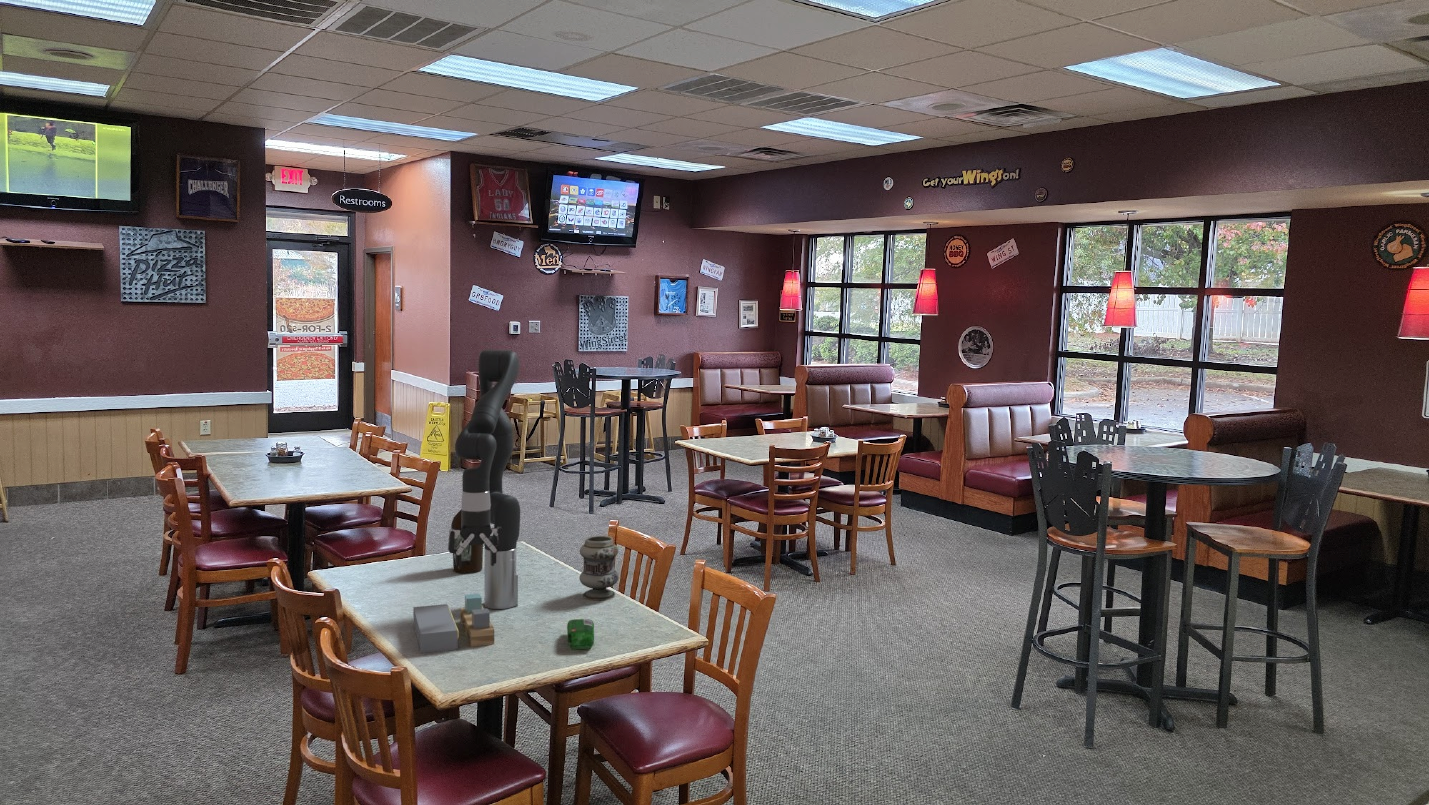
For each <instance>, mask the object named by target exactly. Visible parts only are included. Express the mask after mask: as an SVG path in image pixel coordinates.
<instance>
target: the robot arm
mask: <svg viewBox="0 0 1429 805" xmlns="http://www.w3.org/2000/svg"><path fill="white" fill-rule="evenodd" d="M519 359H520V358H519V356H518V354H517V352H515V351H513V350H506V349H504V350H503V349H502V350H501V349H485V350H482V351H481V352H479V356H478V364H477V365H478V366H477V367H478V383H479V394H480V398H479V399H478V400H477V402H476V403H475V405H474V407H473V410H472V413H471V415H470V416H471V417H470V420H469V421H468V422H467V423H466V425H465V426H464V428H463V429H461V431H460V433H459V434H458V436H457V438H456V440H455V444H454V451H455V453H456V456H458V458H460V459H462V460H468V461H469V460H474V461H475V460H476V461H479V460H480V464H479V465H478V466H475V467H469V468H466V469H464V470H463V471H462V475H461V476H462V478H461V479H462V482H461V484H462V486H461V487H462V489H461V490H462V492H461V493H462V494H461V506H460V507H461V508H460V510H461V525H462V526H461V529H460V530H453V529H451V528H450V530H448V531H449V532H448V544H447V550H448V552H449V553H450V554H452V555H453V554H455V564H456V566H457V567H458V568H459V569H461V568H462V555H461V552H462V551H463V550H464V549H465V548H466V547H467V545H470V546H473V545H482V544H483V559H484V562H483V564H484V565H483V566H484V573H483V574H484V576H483V577H484V583H483V584H484V585H483V586H484V589H483V590H484V606H485V608H487V609H492V610H493V609H494V610H505V609H510V608H513V607H517V606H519V595H518V594H519V575H518V573H517V543H518V541H519V537H520V527H521V506H520V503H519V500H518V499H517V498H516V497H515V496H513V495H509V494H505V493H504V492H503V477H504V472H505V470H506V466H507V465H508V463H509V461H510V459H511V457H512V454H513V451H514V427H513V423H512V421H511V420H510V418H509V416H508V415H507V413H506V411H505V410H504V409H503V405H504V403H505V402H506V399H507V398H508V397H509V394H510V392H511V391H512V389H513V388H514V385H515V382H516V380H517V379H518V376H519V372H520V360H519ZM494 383H495V385H494ZM491 524H492V525H493V528H492V527H491ZM459 534H460V535H461V536H462V538H463V540H462V541H461V542H460V544H459V546H458V547H457V548H454V539H456V538H457V536H458V535H459Z"/></svg>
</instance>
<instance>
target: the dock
mask: <svg viewBox="0 0 1429 805" xmlns="http://www.w3.org/2000/svg"><path fill="white" fill-rule="evenodd" d="M412 608H413V609H412V610H413V619H412V620H413V629H414V631H415V635H416V639H417V642H418V646H419V650H420V653H421V654H425V653H427V654H428V653H434V652H435V653H436V652H444V651H445V652H446V651H454V650H458V640H459V638H460V636H459V635H460V632H459V628H458V626H457V623H456V621H455V619H454V616H453V614H452V610H451V609H450V607H449V604H447V603H445V604H444V603H443V604H434V605H424V606H422V605H421V606H413V607H412Z"/></svg>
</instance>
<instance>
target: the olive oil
mask: <svg viewBox="0 0 1429 805" xmlns="http://www.w3.org/2000/svg"><path fill="white" fill-rule="evenodd" d="M461 526H462V525H461V509H460V510H459V511H458V512H457V513H456V514H455V515H454V516H453V518H452V521H451V525H450V527H451V528H450V530H451V529H453V530H460V529H461ZM462 540H463V538H462V536H461V535H460V534H459V535H458V536H457V538H456V539H454V548H457V547H458V546H459V544H460V542H461V541H462ZM461 555H462V568H461V569H459V568H458V567H457V566H456V564H455V554H453V553H452V562H453V563H452V564H453V565H452V567H453V568H452V569H453V572H454V573H458V574H473V573H479V572H481V571H482V570H483V566H484V565H483V564H484V562H483V559H484V544H482V545H473V546H470V545H467V547H466V548H465V549H464V550H463V551H462V552H461Z"/></svg>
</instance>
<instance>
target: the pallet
mask: <svg viewBox="0 0 1429 805" xmlns="http://www.w3.org/2000/svg"><path fill="white" fill-rule="evenodd" d="M482 609H485V608H484V606H483V605H482ZM459 621H460V624H461V625H464V634H465V636H466V637H469V645H470V647H479V646H488V645H495V627H494V626H493V623H492V622H491V621H490V628H483V629H474V628H473V626H472V613H466V610H465V606H464V607H463V606H462V607H460V620H459Z"/></svg>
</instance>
